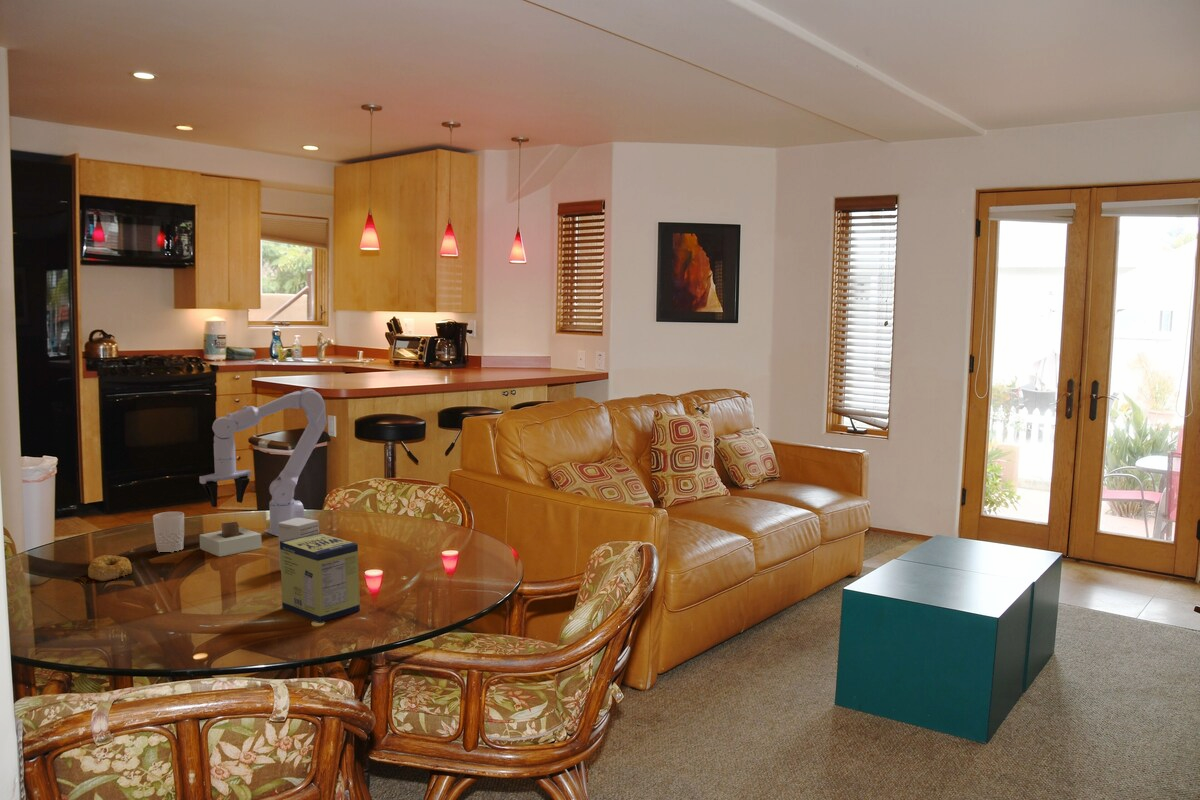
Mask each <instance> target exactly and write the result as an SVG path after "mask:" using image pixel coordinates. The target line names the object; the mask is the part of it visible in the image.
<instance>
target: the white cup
mask: <svg viewBox="0 0 1200 800" xmlns="http://www.w3.org/2000/svg"><path fill="white" fill-rule="evenodd" d="M152 520H153V521H152V522H153V531H154V539H155V544H156V551H158V552H157V553H160V552H171V553H175V552H174V551H177V552H180V551H179V550H181V551H182V550H183V549H184V540H185V513H184V511H183V512H182V511H165V512H159V513H155V514H153V515H152Z"/></svg>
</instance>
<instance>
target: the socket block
mask: <svg viewBox="0 0 1200 800" xmlns="http://www.w3.org/2000/svg"><path fill="white" fill-rule="evenodd" d="M262 543H263V542H262V533H259V532H256V531H253V530H251V529H247V528H245V527H242V526H239V536H233V537H228V538H224V537H222V530H218V531H214V532H208V533H202V534H199V549H200V550H202V551H205V552H207V553H210V554H211V555H214V556H217V557H219V558H221V557H225V556H230V555H235V554H241V553H245V552H249V551H254V550H259V549H262V548H263V546H262V545H263V544H262Z"/></svg>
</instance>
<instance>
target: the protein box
mask: <svg viewBox="0 0 1200 800" xmlns="http://www.w3.org/2000/svg"><path fill="white" fill-rule="evenodd" d="M358 550H359V549H358V543H356V542H353V541H349V540H347V539H346V540H345V539H342V538H338V537H335V536H330V535H328V534H324V533H320V532H319V533H317V534H313V535H308V536H304V537H299V538H295V539H290V540H285V541H280V559H281V570H280V574H281V575H280V577H281V578H280V579H281V581H280V582H281V583H280V584H281V603H282V604H281V605H282V606H281V607H282V609H285V610H286V611H289V612H291V613H295V614H296V615H299V616H302V617H304V618H307V619H309V620H311V621H314V622H316V623H319V624H321V623H324V622H329V621H331V620H333V619H337V618H340V617H344V616H347V615H349V614H353V613H357V612H360V610H361V605H360V602H361V601H360V579H359V578H360V577H359V575H360V574H359V551H358Z"/></svg>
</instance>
